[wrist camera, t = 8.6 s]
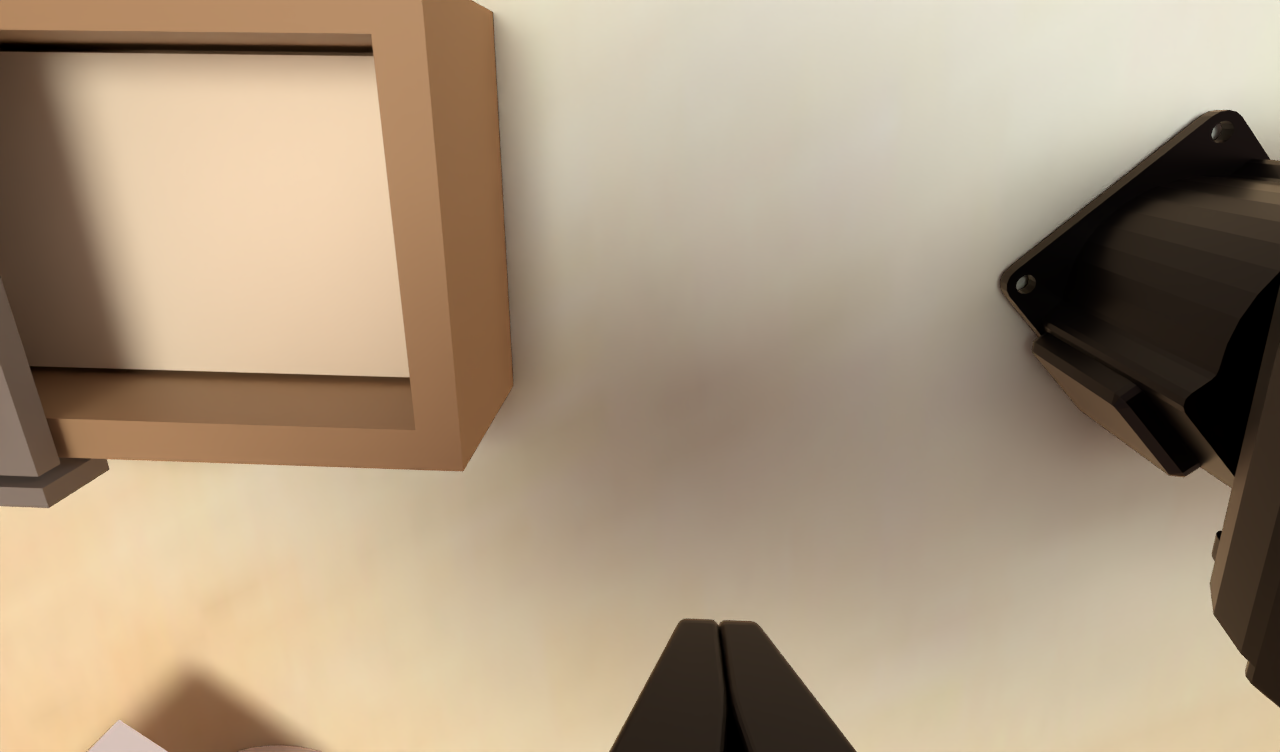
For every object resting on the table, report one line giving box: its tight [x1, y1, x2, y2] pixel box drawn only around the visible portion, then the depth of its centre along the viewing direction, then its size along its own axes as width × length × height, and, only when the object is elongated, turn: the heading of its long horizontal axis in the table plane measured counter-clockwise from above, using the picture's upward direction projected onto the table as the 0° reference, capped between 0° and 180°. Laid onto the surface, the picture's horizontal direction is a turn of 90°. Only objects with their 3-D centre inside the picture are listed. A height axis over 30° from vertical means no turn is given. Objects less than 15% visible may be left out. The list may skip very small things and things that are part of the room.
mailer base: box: [0, 0, 513, 471], centre depth 17 cm, size 15×10×5 cm, turn 89°
